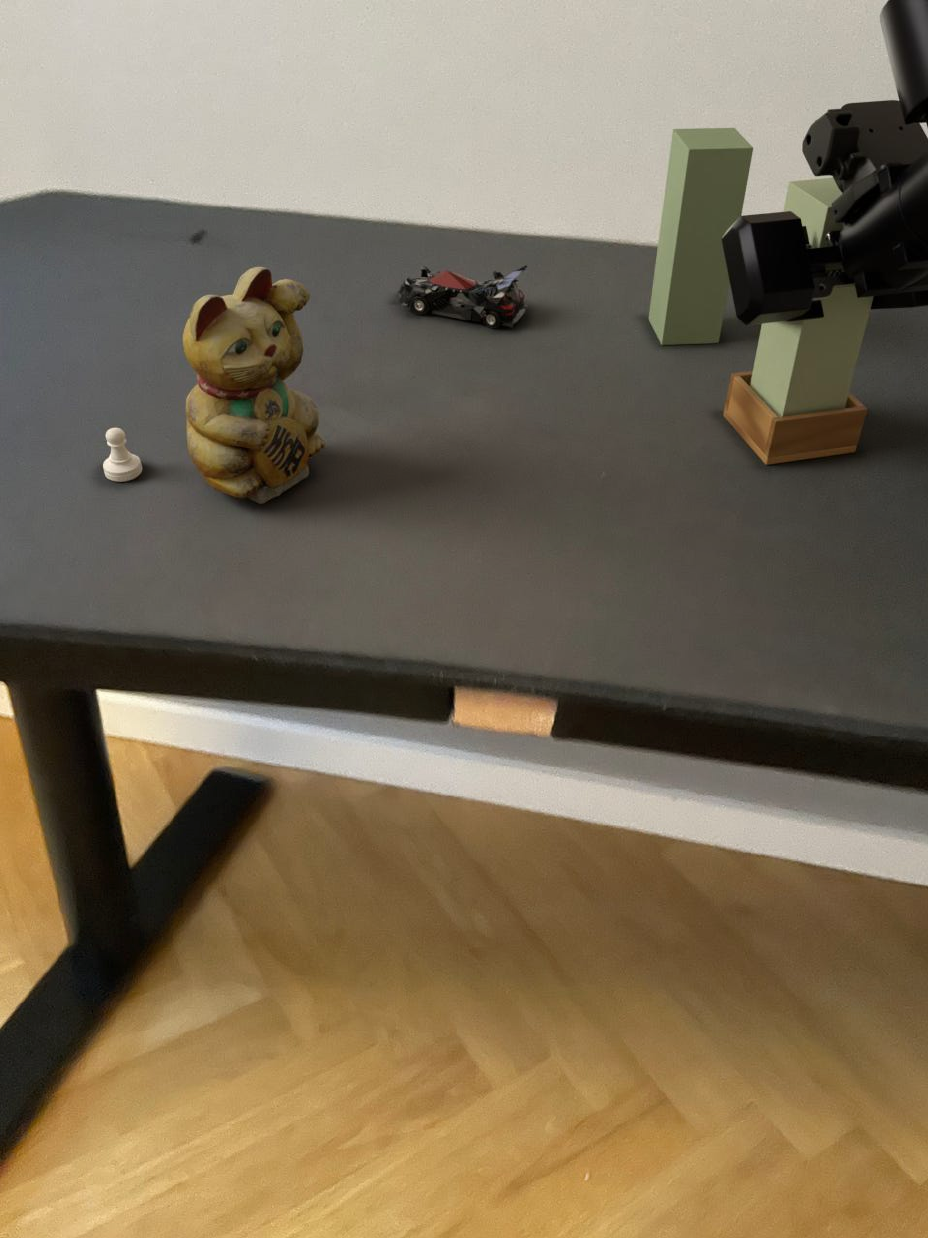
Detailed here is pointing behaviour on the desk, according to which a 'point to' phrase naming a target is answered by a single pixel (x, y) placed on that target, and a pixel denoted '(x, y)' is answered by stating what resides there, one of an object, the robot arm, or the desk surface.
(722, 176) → the pillar
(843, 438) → the small open wooden box
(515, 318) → the toy car
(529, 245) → the desk surface
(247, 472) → the decorative figurine
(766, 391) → the sage green pillar
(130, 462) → the chess pawn
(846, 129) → the robot arm
